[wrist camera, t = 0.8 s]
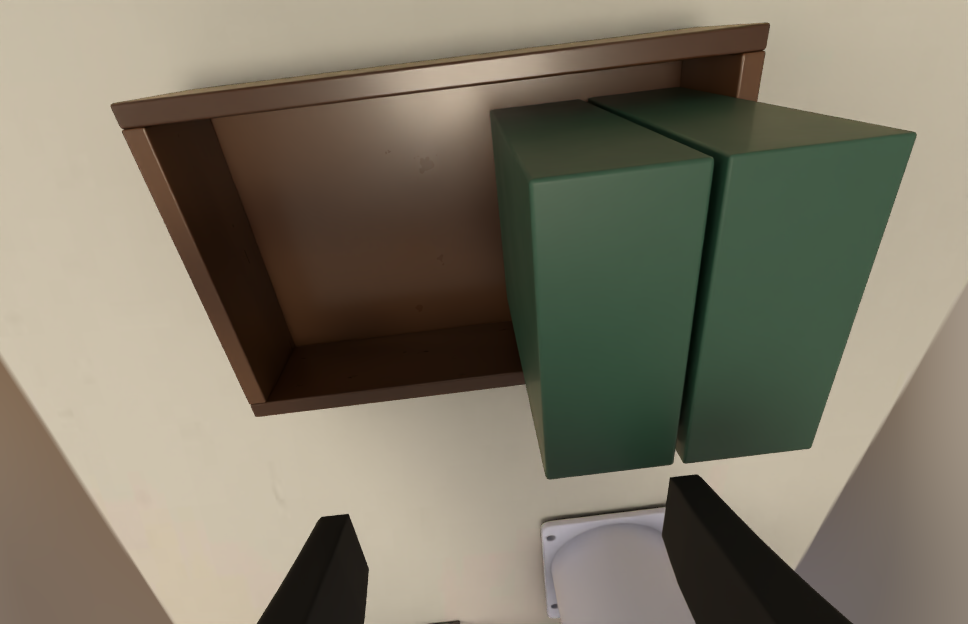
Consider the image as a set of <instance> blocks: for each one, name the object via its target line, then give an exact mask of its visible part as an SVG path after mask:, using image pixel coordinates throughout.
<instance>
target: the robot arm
mask: <svg viewBox="0 0 968 624" xmlns="http://www.w3.org/2000/svg"><path fill="white" fill-rule="evenodd" d="M541 539H542V553H543V566H544V580H545V594H546V608H547V615H548V617H550V618H560V619H561V624H853V623H851V622H850V621H849V620H848V619H847V618H846V617H845V616H843V615H842V614H841V613H840V612H839V611H838V610H837V609H835V608H834V607H833V606H832V605H831V604H830V603H829V602H827V601H826V600H825V599H824V598H823V597H822V596H821V595H820V594H819V593H817V592H816V591H815V590H814V589H813V588H812V587H811V586H810V585H809V584H808V583H806V582H805V581H804V580H803V579H802V578H801V577H800V576H799V575H798V574H797V573H796V572H795V571H794V570H793V569H791V568H790V567H789V566H788V565H787V564H786V563H785V562H784V561H783V560H782V559H781V558H780V557H779V556H778V555H777V554H776V553H775V552H774V551H773V550H772V549H771V548H770V547H769V546H767V545H766V544H765V543H764V542H763V541H762V540H761V539H760V538H759V537H758V536H757V535H756V534H755V533H754V532H753V531H752V530H751V529H750V528H749V527H748V526H747V525H746V524H745V523H744V522H743V521H742V520H741V519H740V517H739V516H738V515H737V514H736V513H735V512H734V511H733V510H732V509H731V508H730V507H729V506H728V505H727V504H726V503H725V502H724V501H723V500H722V499H721V498H720V497H719V496H718V495H717V494H716V493H715V492H714V490H713V489H712V488H711V487H710V486H709V485H708V484H707V483H706V482H705V481H704V480H703V479H702V478H701V477H700V476H699V475H688V476H679V477H670V481H669V488H668V495H667V502H666V507H661V508H653V509H645V510H637V511H628V512H620V513H612V514H604V515H595V516H587V517H579V518H571V519H562V520H554V521H547V522H545V523H543V524H542V525H541ZM368 573H369V568H368V565H367V562H366V560H365V557H364V554H363V552H362V549H361V546H360V543H359V541H358V538H357V535H356V533H355V530H354V527H353V524H352V522H351V519H350V516H349V514H344V515H335V516H326V517H321V518H320V519H319V520H318V522H317V523H316V525H315V527H314V529H313V531H312V532H311V534H310V536H309V538H308V539H307V541H306V543H305V545H304V546H303V548H302V550H301V552H300V553H299V555H298V557H297V559H296V560H295V562H294V564H293V566H292V567H291V569H290V571H289V572H288V574H287V576H286V577H285V579H284V581H283V582H282V584H281V586H280V587H279V589H278V591H277V592H276V594H275V595H274V597H273V599H272V600H271V602H270V603H269V605H268V607H267V608H266V610H265V611H264V613H263V615H262V616H261V618H260V619H259V621H258V623H257V624H364V619H365V608H366V598H367V585H368Z"/></svg>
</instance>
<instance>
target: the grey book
mask: <svg viewBox="0 0 968 624" xmlns="http://www.w3.org/2000/svg"><path fill="white" fill-rule="evenodd" d="M440 624H460V622H459V621H456V622H448V623H440Z"/></svg>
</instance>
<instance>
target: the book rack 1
mask: <svg viewBox="0 0 968 624" xmlns="http://www.w3.org/2000/svg"><path fill="white" fill-rule="evenodd" d="M769 28H770V24H769V23H752V24H737V25H722V26H707V27H693V28H685V29H677V30H669V31H661V32H653V33H645V34H637V35H629V36H621V37H612V38H604V39H596V40H588V41H580V42H572V43H564V44H556V45H548V46H540V47H532V48H523V49H515V50H507V51H499V52H491V53H483V54H475V55H467V56H459V57H451V58H443V59H434V60H426V61H418V62H410V63H402V64H394V65H386V66H378V67H370V68H362V69H354V70H345V71H337V72H329V73H321V74H313V75H305V76H297V77H289V78H281V79H273V80H265V81H256V82H248V83H240V84H232V85H224V86H216V87H208V88H200V89H192V90H185V91H180V92H174V93H168V94H163V95H157V96H151V97H146V98H140V99H134V100H129V101H123V102H117V103H113V104H111V109H112V111H113V113H114V115H115V117H116V119H117V121H118V124H119V126H120V127H121V128H122V129H124V130H122V133H123V135H124V137H125V139H126V141H127V144H128V146H129V148H130V150H131V152H132V154H133V156H134V159H135V161H136V163H137V165H138V167H139V169H140V171H141V174H142V176H143V178H144V180H145V182H146V184H147V186H148V188H149V191H150V193H151V195H152V197H153V199H154V201H155V203H156V206H157V208H158V210H159V212H160V214H161V216H162V218H163V221H164V223H165V225H166V227H167V229H168V231H169V233H170V235H171V238H172V240H173V242H174V244H175V246H176V248H177V250H178V253H179V255H180V257H181V259H182V261H183V263H184V265H185V268H186V270H187V272H188V274H189V276H190V278H191V280H192V283H193V285H194V287H195V289H196V291H197V293H198V295H199V297H200V300H201V302H202V304H203V306H204V308H205V310H206V312H207V315H208V317H209V319H210V321H211V323H212V325H213V327H214V330H215V332H216V334H217V336H218V338H219V340H220V342H221V344H222V347H223V349H224V351H225V353H226V355H227V357H228V359H229V362H230V364H231V366H232V368H233V370H234V372H235V374H236V377H237V379H238V381H239V383H240V385H241V387H242V389H243V392H244V394H245V396H246V398H247V400H248V402H249V404H251V408H252V410H253V412H254V414H255V416H256V417H261V416H269V415H277V414H285V413H294V412H302V411H310V410H318V409H326V408H335V407H343V406H351V405H359V404H367V403H376V402H384V401H392V400H400V399H408V398H417V397H425V396H433V395H441V394H449V393H458V392H466V391H474V390H482V389H491V388H499V387H507V386H515V385H523V384H525V379H524V374H523V370H522V365H521V360H520V356H519V351H518V346H517V342H516V337H515V332H514V328H513V323H512V318H511V314H510V309H509V305H508V300H507V292H506V281H505V270H504V260H503V249H502V238H501V228H500V217H499V206H498V196H497V185H496V174H495V163H494V153H493V142H492V131H491V121H490V111H491V110H495V109H503V108H511V107H519V106H528V105H536V104H544V103H552V102H560V101H568V100H576V99H580V100H583V101H585V102H587V103H588V99H589V98H591V97H599V96H608V95H616V94H624V93H632V92H640V91H648V90H656V89H664V88H672V87H682V88H688V89H693V90H698V91H703V92H708V93H714V94H719V95H724V96H729V97H735V98H740V99H745V100H750V101H755V102H757V99H758V93H759V87H760V81H761V75H762V69H763V64H764V58H765V51H762V50H764V49H765V48H766V45H767V39H768V33H769Z"/></svg>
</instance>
